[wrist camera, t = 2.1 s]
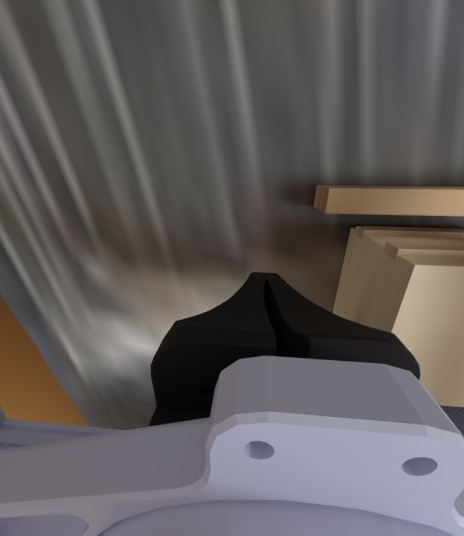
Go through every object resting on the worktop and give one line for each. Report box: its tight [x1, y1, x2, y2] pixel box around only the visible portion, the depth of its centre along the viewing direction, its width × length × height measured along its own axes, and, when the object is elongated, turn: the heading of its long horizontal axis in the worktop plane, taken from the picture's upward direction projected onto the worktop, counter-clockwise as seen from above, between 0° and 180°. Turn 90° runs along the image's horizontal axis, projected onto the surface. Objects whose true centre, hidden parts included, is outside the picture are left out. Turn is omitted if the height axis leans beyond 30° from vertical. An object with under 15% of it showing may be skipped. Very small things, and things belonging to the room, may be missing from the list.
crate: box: [333, 226, 464, 407], centre depth 10 cm, size 6×6×5 cm
